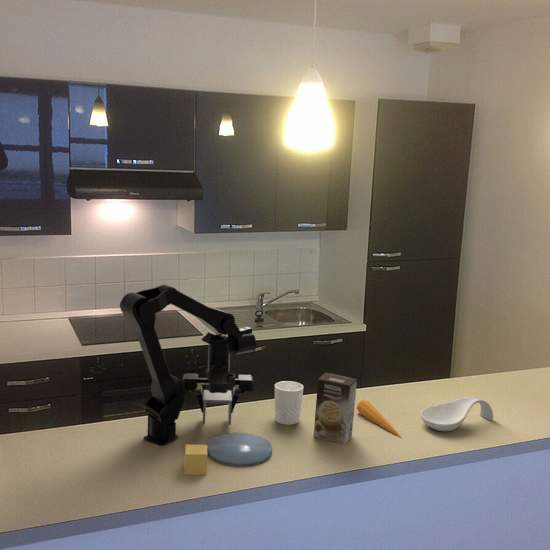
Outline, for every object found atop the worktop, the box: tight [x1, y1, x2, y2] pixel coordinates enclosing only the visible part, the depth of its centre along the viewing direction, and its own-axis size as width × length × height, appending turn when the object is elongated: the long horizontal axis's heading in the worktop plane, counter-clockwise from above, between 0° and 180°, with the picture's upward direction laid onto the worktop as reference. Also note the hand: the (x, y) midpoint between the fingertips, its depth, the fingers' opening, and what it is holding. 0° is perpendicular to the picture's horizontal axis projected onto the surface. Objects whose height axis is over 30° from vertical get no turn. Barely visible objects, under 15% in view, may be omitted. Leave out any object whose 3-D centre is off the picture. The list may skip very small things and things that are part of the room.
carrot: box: [356, 399, 403, 439], centre depth 188 cm, size 20×4×4 cm, turn 27°
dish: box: [206, 432, 273, 467], centre depth 167 cm, size 16×16×1 cm
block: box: [183, 444, 208, 475], centre depth 157 cm, size 5×5×5 cm
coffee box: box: [313, 372, 358, 445], centre depth 177 cm, size 9×6×16 cm
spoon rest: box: [420, 395, 494, 432], centre depth 191 cm, size 24×12×7 cm, turn 119°
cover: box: [202, 389, 233, 426], centre depth 182 cm, size 7×7×7 cm
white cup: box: [274, 380, 304, 426], centre depth 187 cm, size 8×8×10 cm
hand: (216, 412), depth 182 cm, fingers closed on cover, 7 cm apart
